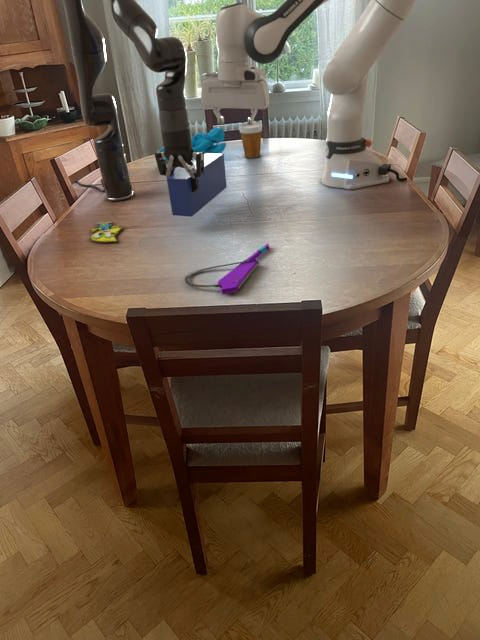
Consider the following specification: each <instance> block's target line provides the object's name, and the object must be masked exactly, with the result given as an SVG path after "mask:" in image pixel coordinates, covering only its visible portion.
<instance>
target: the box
mask: <svg viewBox="0 0 480 640" xmlns="http://www.w3.org/2000/svg"><path fill="white" fill-rule="evenodd" d="M224 155H225V154H224V153H222V154H215V153H206V154H204V174H203V175H201V176H200V177H198V183H199V189H198V190H197V191H196V192H192V187H191V179H192V178H191V177H190V175H189V173H188V172H187V171H186V170H185V168H181V169H179V170H177V171H175V172H174V174H173V175H171V176H170V177H168V178H167V177H166V184H167V190H168V196H169V202H170V206H171V207H170V208H171V215H172V216H176V217H177V216H178V217H194V216H195V215H196V214H197V213H198V212H200V210H202V209H203V208H204V207H205V206H206V205H208V204H209V203H210V202H211V201H212V200H213V199H215V198H216V197H217V196H219V194H221V193H222V192H223V191H224V190H225V189H227V187H228V186H227V173H226V165H225V156H224ZM192 161H193V163H194V165H195V168H196V161H195V160H192ZM188 166H189V165H188ZM189 167H190V166H189Z"/></svg>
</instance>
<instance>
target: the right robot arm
mask: <svg viewBox="0 0 480 640" xmlns="http://www.w3.org/2000/svg"><path fill="white" fill-rule="evenodd" d="M329 1H330V0H285V1H284V2H283V3H282V4H281V5H280V6H279V7H278V8H277V9H276V10H274V12H271V13H270V14H268V15H264V14H261V13H259V12H257V11H255V10H254V9H252V8H250V7H249V6H247V5H246V4H245V3H244V2H237V3H232V4H228V5H225V6H222V7H221V8H220V9H219V10H218V12H217V14H216V17H215V18H216V19H215V41H216V47H217V52H218V53H217V61H216V62H217V63H216V64H217V71H214V72H209V71H206V72H204V73H203V74H202V75H201V76H200V79H199V80H200V87H201V92H200V99H201V100H200V102H201V105H202V107H203V108H205V109H206V108H212V111H213V114H214V115H215V117H216V119H217V120H216V121H217V124H218V125H224V124H225V116H222V114H221V112H220V111H221V109H238V110H239V109H240V110H241V109H243V110H245V109H246V110H250V114H251V115H250V117H248V118H247V119H246V121H247V123H246V124H247V125H254V124H255V118H256V115H257V113H258V110H265V109H267V108H268V107H269V105H270V89H269V83H268V82H267V80H266V79H265V78H266V75H267V72H266V70H265V69H263V68H261V67H259V66H255V65H253V64H250V59H251V60H252V61H253V62H255V63H258V64H263V65H266V64H270V63H273V62H274V61H275V60H277V59H278V58H279V56H280V55H281V53H282V52H283V50H284V47H285V45H286V43H287V41H288V39H289V37H290V36H291V35H292V33H293V32H294V31H295V30H296V29H297V28H299V26H300V25H301V24H302V23H303V22H304V21H305V20H306V19H307V18H308V17H309V16H311V15H312V13H314V12H315V11H316V9H318V8H319V7H320V6H322V5H323V4H325V3H327V2H329ZM417 1H418V0H370V1H369V2H368V4H367V5H366V7H365V9H364V10H363V12H362V13H361V15H360V17H359V19H358V20H357V21H356V23H355V24H354V26H353V27H352V28H351V30H350V31H349V33H348V34H347V36H346V37H345V38H344V40H343V41H342V42H341V44H340V45H339V47H338V48H337V49H336V51H335V52H334V54H333V55H332V57H331V58H330V60H329V61H328V63H327V64H326V66H325V68H324V70H323V73H322V84H323V87H324V88H325V91H327V92H328V93H330V94H331V95H330V102H329V107H328V111H327V123H326V124H327V126H326V127H327V129H326V130H327V133H326V139H325V145H324V154H325V155H324V156H325V164H324V170H323V175H322V178H321V183H322V185H324V186H327V187H330V188H338V189H339V188H341V189H346V190H356V189H361V188H366V187H371V186H376V185H380V184H385V183H389V182H390V176H389V175H388V174H389V173H391V174H392V173H393V174H394V175H395V179H396V181H399V182H405V181H408V176H407V177H400V173H399V172H398V171H397V170H395V169H392V164H391V163H382V161H381V159H380V158H379V157H377V156H376V155H375V154H373V152H371V151H370V150H368V148H370V147H371V146H373V141H372V140H371V139H368V138H367V139H366V138H364V137H362V134H363V122H364V121H363V118H364V108H365V102H366V96H367V90H368V81H369V80H368V79H369V72H370V70H371V68H372V67H373V65H374V64H375V63H376V61H377V60H378V59H379V57H380V56H381V55H382V54H383V52H384V51H385V50H386V49H387V47H388V45H389V44H390V43H391V41H392V40H393V38H394V37H395V36H396V34H397V32H398V31H399V29H400V28H401V27H402V25H403V24H404V22H405V21H406V19H407V18H408V16H409V15H410V13H411V11H412V10H413V9H414V6H415V5H416V3H417Z"/></svg>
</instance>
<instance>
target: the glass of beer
mask: <svg viewBox="0 0 480 640" xmlns="http://www.w3.org/2000/svg"><path fill="white" fill-rule="evenodd" d="M262 131H263V126H262V124H261V123H254V125H247V123H245V124H241V125H240V126H239V133H240V137H241V142H242V147H243V152H244V157H245V158H248V159H249V158H251V159H252V158H253V159H254V158H258V157H260V156H261V144H262Z"/></svg>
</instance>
